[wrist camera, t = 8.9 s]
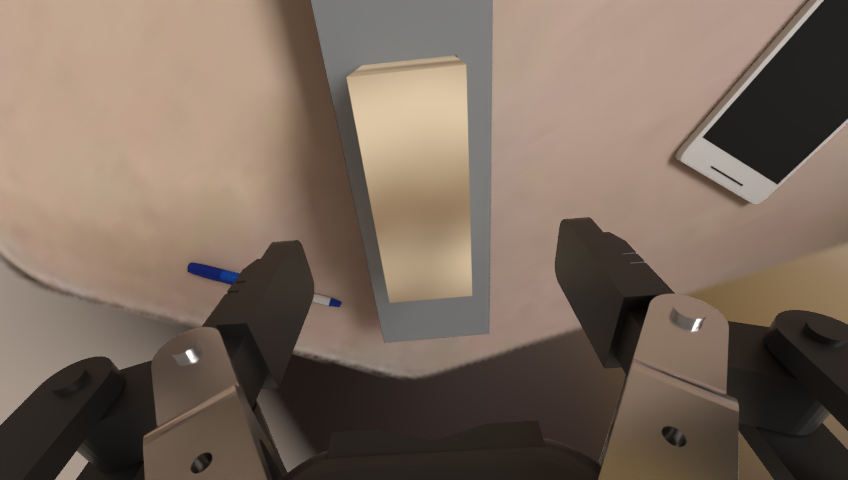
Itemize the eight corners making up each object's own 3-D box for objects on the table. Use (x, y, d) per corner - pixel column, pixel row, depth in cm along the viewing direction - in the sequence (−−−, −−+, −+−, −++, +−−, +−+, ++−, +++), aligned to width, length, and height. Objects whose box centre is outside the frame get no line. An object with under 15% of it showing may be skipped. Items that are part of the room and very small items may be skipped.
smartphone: (1041, -80, 16) (1075, -85, 15) (746, 201, 23) (758, 207, 22) (961, -186, 14) (995, -199, 13) (668, 154, 21) (678, 159, 20)
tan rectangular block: (369, 59, 18) (346, 77, 12) (448, 50, 18) (466, 64, 12) (395, 230, 23) (389, 302, 17) (457, 224, 23) (472, 295, 17)
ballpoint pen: (191, 269, 24) (183, 277, 24) (191, 259, 24) (183, 267, 23) (340, 303, 26) (338, 313, 26) (343, 295, 26) (340, 304, 25)
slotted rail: (300, -132, 14) (274, -167, 11) (479, -153, 14) (494, -194, 11) (387, 311, 27) (384, 342, 24) (482, 303, 26) (489, 333, 24)
